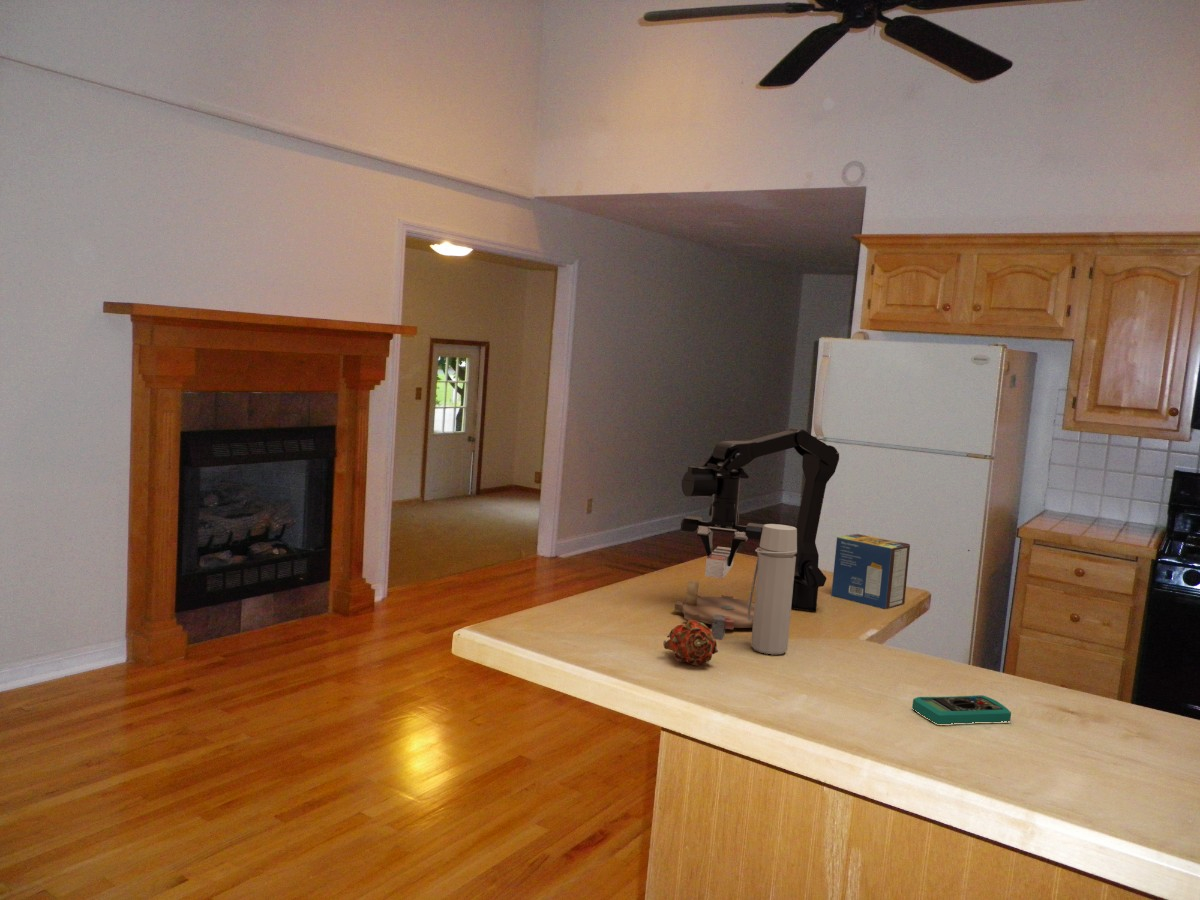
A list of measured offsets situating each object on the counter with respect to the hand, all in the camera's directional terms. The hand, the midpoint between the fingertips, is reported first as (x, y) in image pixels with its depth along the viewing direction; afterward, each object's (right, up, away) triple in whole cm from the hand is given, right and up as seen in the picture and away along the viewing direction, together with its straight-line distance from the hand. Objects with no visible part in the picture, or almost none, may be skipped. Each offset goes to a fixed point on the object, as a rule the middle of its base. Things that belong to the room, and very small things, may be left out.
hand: (720, 564), depth 206 cm
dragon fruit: (-11, -14, -37) cm, 41 cm away
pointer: (-3, -12, -19) cm, 23 cm away
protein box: (+41, -12, +24) cm, 49 cm away
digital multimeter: (+33, -19, -55) cm, 67 cm away
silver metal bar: (0, -1, 0) cm, 1 cm away
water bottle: (+6, -14, -26) cm, 30 cm away
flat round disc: (+1, -12, -5) cm, 13 cm away
